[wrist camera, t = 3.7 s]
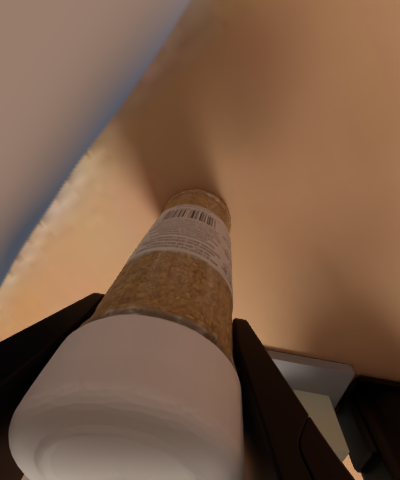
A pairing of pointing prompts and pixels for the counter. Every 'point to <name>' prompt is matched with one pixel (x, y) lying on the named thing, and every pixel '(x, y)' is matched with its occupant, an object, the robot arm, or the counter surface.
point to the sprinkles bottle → (146, 367)
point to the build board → (318, 392)
